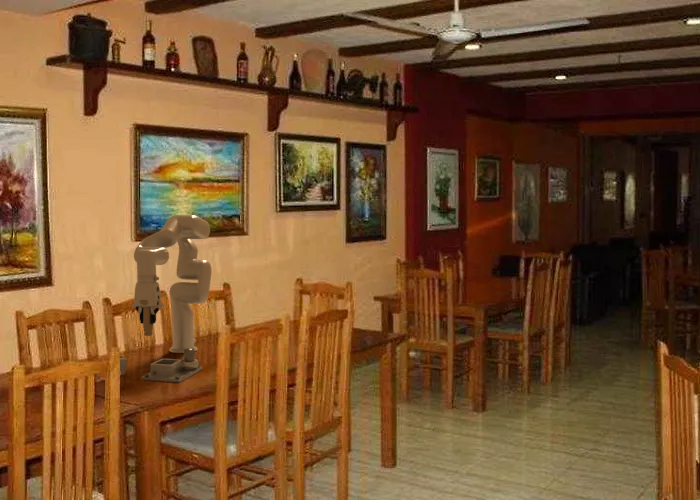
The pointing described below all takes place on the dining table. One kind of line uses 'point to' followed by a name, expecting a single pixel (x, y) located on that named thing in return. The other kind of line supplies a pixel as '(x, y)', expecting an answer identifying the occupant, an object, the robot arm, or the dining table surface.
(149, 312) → the handle
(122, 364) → the hinge
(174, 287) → the robot arm
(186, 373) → the fitting
